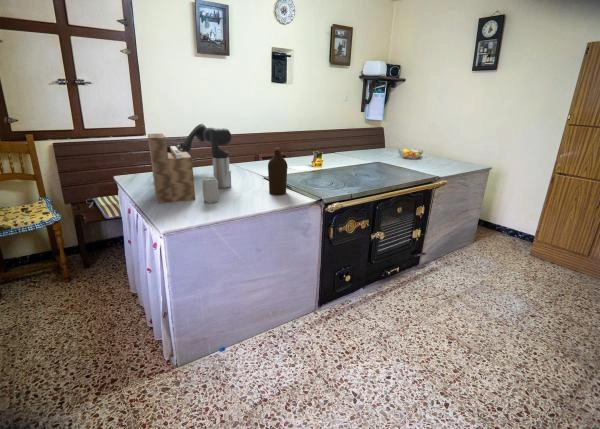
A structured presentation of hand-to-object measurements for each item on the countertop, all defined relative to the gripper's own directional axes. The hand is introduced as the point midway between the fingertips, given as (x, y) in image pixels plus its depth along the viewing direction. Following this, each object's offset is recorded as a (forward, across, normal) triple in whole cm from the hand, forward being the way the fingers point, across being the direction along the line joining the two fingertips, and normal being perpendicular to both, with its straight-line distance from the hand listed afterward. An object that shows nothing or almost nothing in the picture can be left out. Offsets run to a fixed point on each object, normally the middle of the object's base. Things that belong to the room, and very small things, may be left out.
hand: (172, 144), depth 184 cm
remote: (+6, 0, -8) cm, 10 cm away
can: (+10, -13, -36) cm, 39 cm away
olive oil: (+10, -50, -35) cm, 62 cm away
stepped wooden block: (-2, +3, -28) cm, 29 cm away
